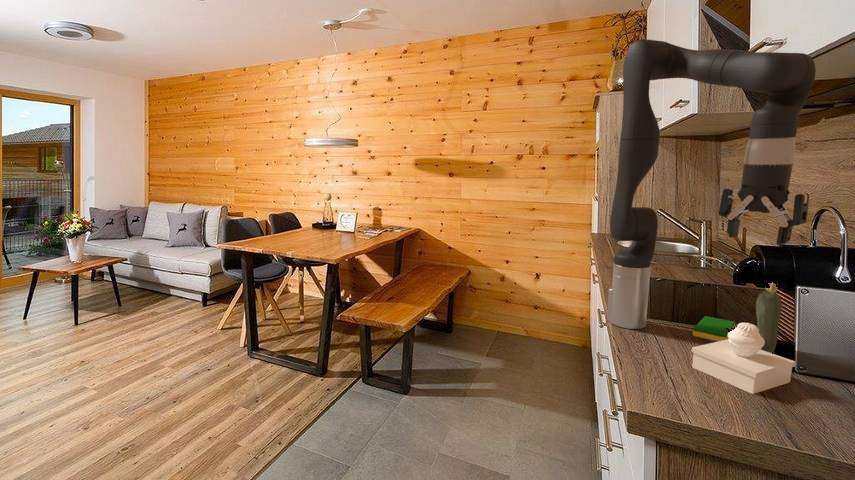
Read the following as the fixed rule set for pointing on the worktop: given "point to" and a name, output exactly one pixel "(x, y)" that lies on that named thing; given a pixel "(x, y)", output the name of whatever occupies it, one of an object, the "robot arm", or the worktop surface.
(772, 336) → the vegetable
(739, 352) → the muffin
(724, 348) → the cardboard box
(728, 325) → the dish sponge
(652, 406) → the worktop surface
